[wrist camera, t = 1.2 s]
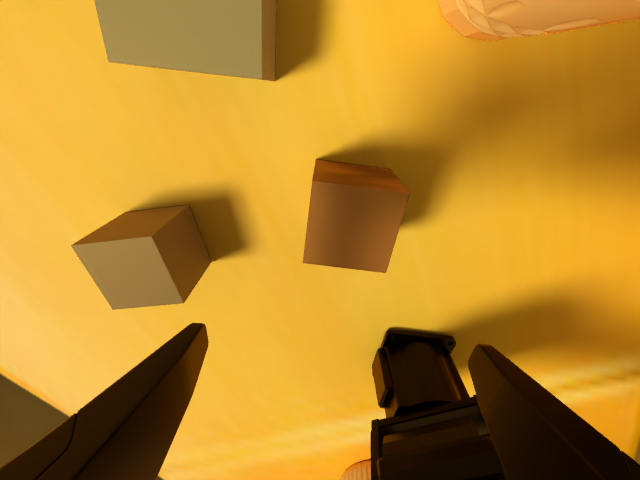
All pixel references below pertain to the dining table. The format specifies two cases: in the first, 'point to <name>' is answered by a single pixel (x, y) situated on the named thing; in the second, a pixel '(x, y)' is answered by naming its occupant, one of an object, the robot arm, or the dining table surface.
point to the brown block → (146, 257)
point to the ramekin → (358, 471)
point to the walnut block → (353, 216)
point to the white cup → (533, 16)
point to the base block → (192, 35)
